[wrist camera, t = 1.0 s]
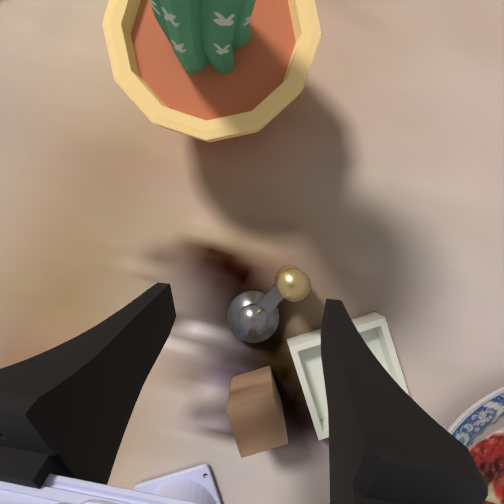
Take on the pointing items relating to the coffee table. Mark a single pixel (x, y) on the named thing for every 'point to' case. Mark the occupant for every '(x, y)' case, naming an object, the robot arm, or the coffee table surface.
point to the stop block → (256, 412)
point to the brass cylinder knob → (274, 299)
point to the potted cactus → (211, 60)
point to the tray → (311, 370)
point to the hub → (235, 308)
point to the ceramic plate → (485, 440)
